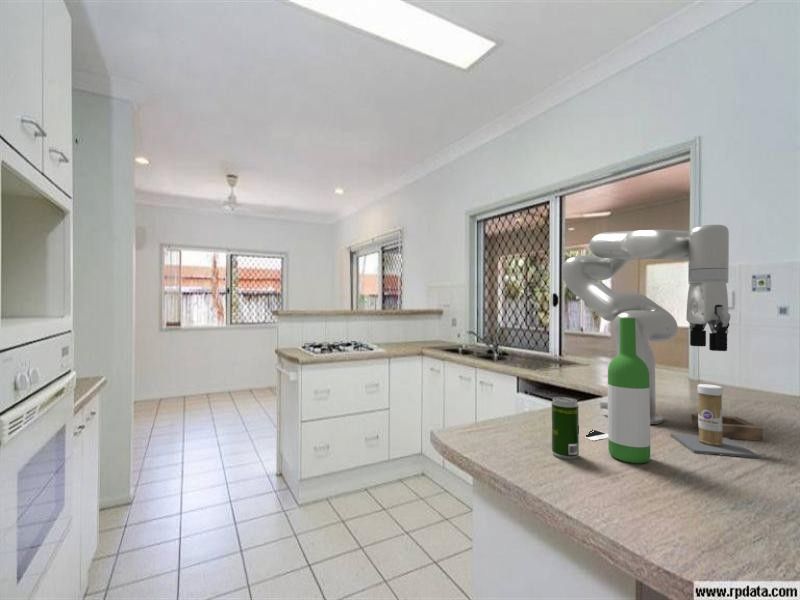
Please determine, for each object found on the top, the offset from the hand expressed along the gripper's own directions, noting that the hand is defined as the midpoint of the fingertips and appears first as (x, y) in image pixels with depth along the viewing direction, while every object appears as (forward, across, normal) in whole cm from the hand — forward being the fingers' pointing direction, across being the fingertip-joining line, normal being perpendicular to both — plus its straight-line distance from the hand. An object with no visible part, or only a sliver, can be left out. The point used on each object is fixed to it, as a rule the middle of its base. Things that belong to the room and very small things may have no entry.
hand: (707, 348), depth 91 cm
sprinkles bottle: (+22, +3, 0) cm, 22 cm away
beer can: (+23, +19, -34) cm, 45 cm away
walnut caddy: (+23, -10, +8) cm, 26 cm away
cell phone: (+24, -1, -28) cm, 37 cm away
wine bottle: (+23, +17, -21) cm, 35 cm away
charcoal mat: (+22, +3, 0) cm, 23 cm away
